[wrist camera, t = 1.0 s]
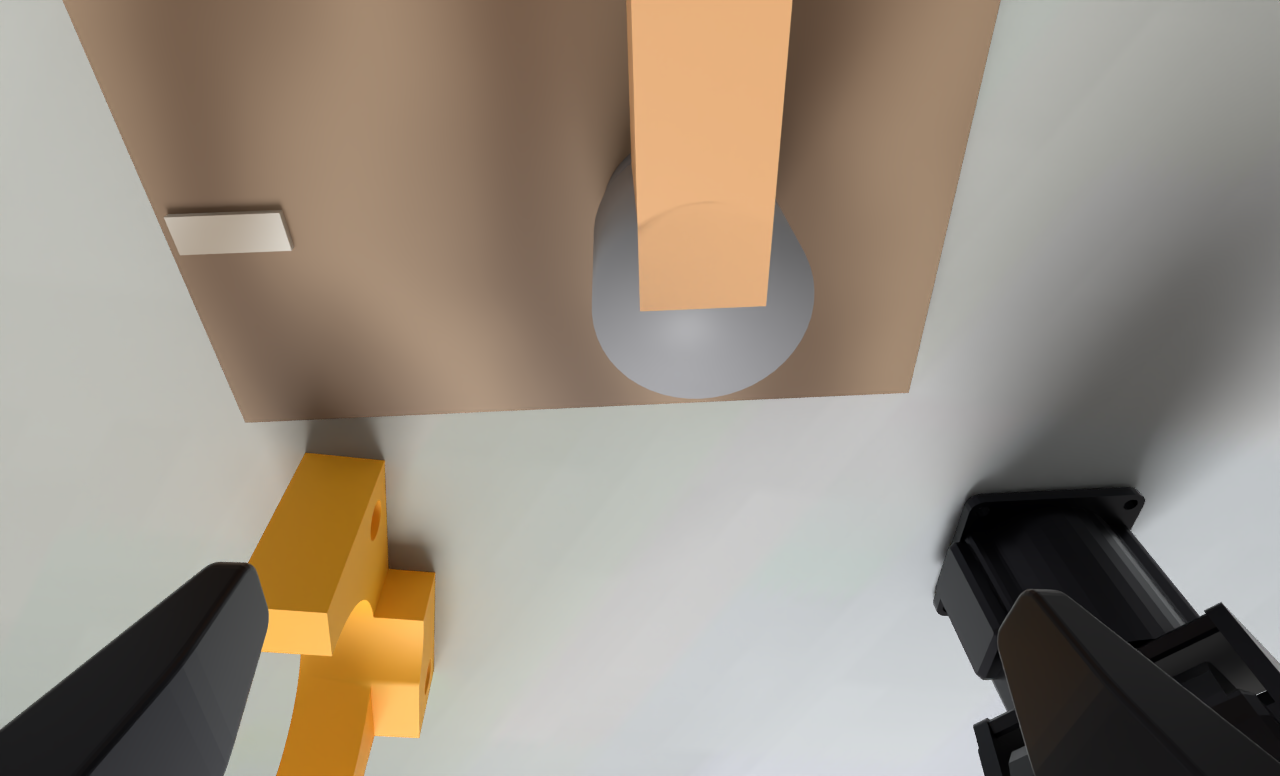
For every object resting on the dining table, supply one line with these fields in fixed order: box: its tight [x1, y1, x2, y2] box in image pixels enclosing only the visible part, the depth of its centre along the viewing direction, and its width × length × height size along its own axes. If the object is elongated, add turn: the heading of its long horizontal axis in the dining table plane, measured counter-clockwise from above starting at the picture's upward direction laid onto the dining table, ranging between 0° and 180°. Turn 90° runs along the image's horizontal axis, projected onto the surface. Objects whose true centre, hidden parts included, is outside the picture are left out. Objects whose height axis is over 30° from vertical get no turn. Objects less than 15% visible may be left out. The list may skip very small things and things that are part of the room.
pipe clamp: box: [248, 453, 435, 776], centre depth 25 cm, size 12×4×6 cm, turn 170°
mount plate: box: [63, 0, 1001, 423], centre depth 17 cm, size 20×18×3 cm
